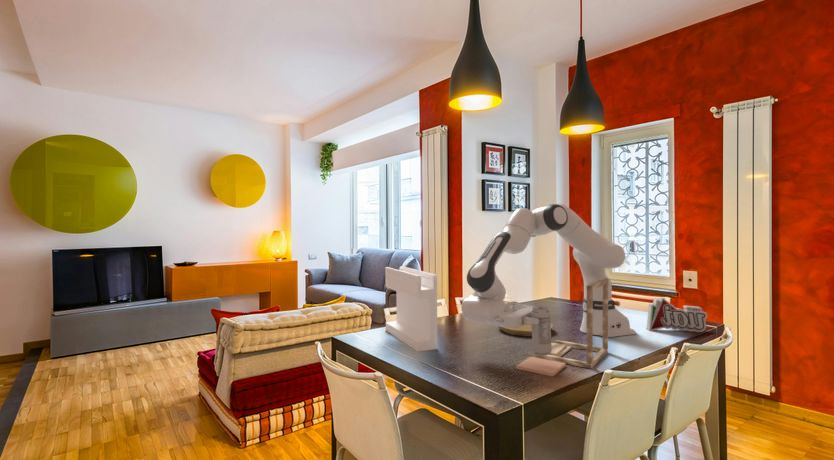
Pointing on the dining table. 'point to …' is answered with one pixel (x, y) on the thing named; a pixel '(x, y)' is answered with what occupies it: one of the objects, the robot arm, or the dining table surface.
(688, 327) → the decorative sign
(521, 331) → the plant saucer
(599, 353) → the birch rack
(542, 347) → the energy drink can
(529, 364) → the terracotta tile
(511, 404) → the dining table surface
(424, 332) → the block
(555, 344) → the beige rectangular tray
